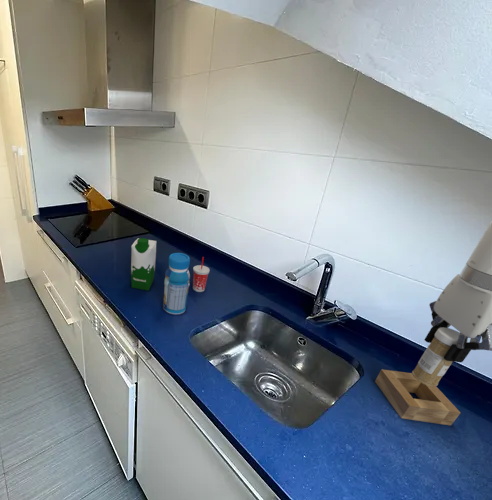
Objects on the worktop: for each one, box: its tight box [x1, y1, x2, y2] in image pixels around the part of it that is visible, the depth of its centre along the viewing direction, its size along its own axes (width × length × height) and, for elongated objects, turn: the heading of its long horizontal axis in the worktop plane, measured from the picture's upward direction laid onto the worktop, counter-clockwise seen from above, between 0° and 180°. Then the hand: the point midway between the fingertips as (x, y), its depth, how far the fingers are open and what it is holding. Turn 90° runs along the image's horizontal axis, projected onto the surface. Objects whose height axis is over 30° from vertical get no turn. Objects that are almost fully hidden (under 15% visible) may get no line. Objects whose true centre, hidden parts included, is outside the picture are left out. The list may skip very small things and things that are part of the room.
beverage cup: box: [192, 256, 211, 293], centre depth 108 cm, size 6×6×14 cm
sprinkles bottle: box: [411, 327, 469, 387], centre depth 63 cm, size 5×5×14 cm
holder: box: [374, 368, 461, 426], centre depth 68 cm, size 10×10×4 cm
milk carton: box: [130, 237, 157, 292], centre depth 109 cm, size 9×9×20 cm
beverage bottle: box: [162, 252, 191, 315], centre depth 95 cm, size 8×8×20 cm
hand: (442, 350), depth 62 cm, fingers closed on sprinkles bottle, 4 cm apart
